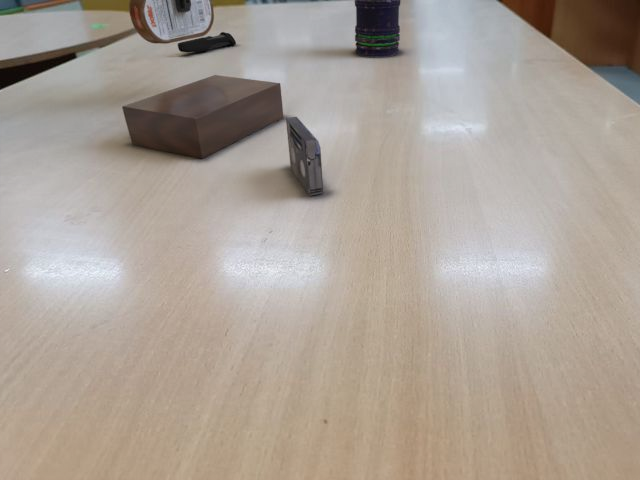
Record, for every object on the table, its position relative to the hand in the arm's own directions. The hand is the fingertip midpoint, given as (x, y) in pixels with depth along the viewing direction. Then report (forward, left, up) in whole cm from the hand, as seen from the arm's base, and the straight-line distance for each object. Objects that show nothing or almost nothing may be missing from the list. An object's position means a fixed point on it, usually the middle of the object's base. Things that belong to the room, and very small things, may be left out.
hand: (175, 10), depth 79 cm
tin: (0, 0, -4) cm, 4 cm away
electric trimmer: (-23, +32, -13) cm, 41 cm away
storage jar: (+14, +45, -13) cm, 48 cm away
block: (+15, -12, -13) cm, 23 cm away
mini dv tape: (+36, -21, -13) cm, 44 cm away
